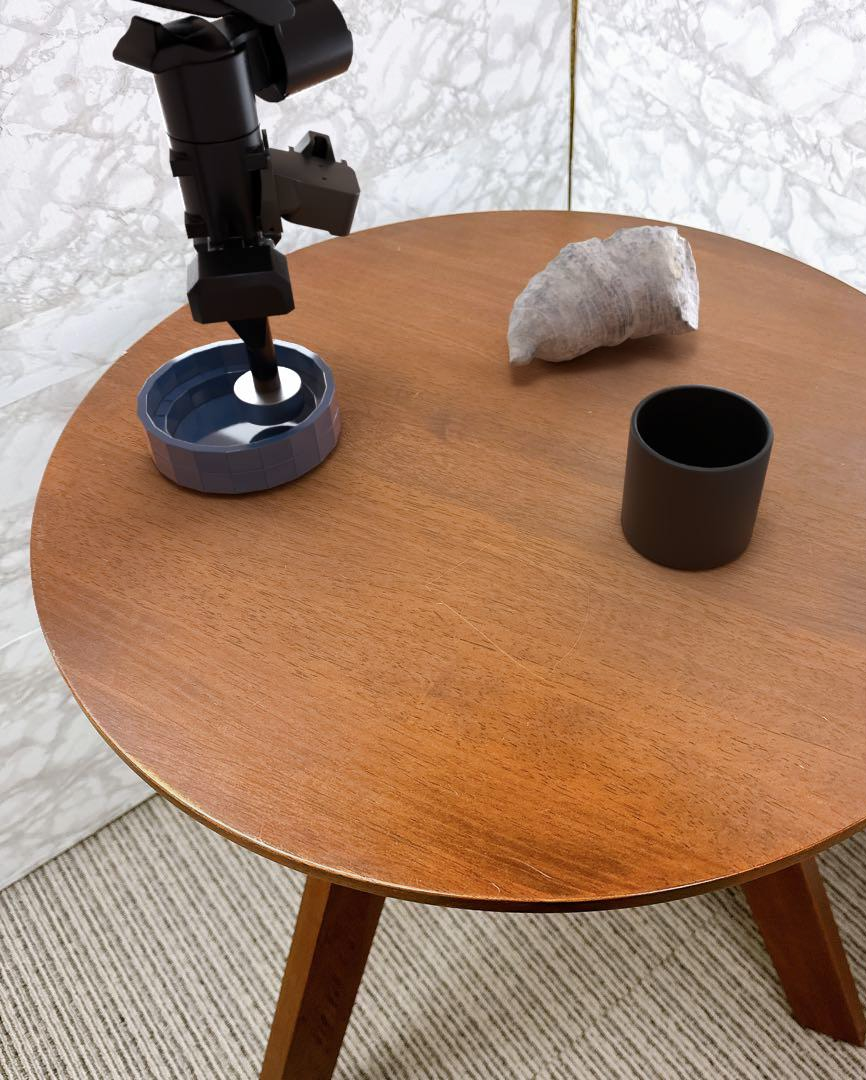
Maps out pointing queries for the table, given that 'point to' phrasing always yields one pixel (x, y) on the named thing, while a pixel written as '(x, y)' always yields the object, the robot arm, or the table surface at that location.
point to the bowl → (234, 420)
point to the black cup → (694, 475)
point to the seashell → (606, 295)
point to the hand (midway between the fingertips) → (256, 339)
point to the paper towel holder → (268, 388)
